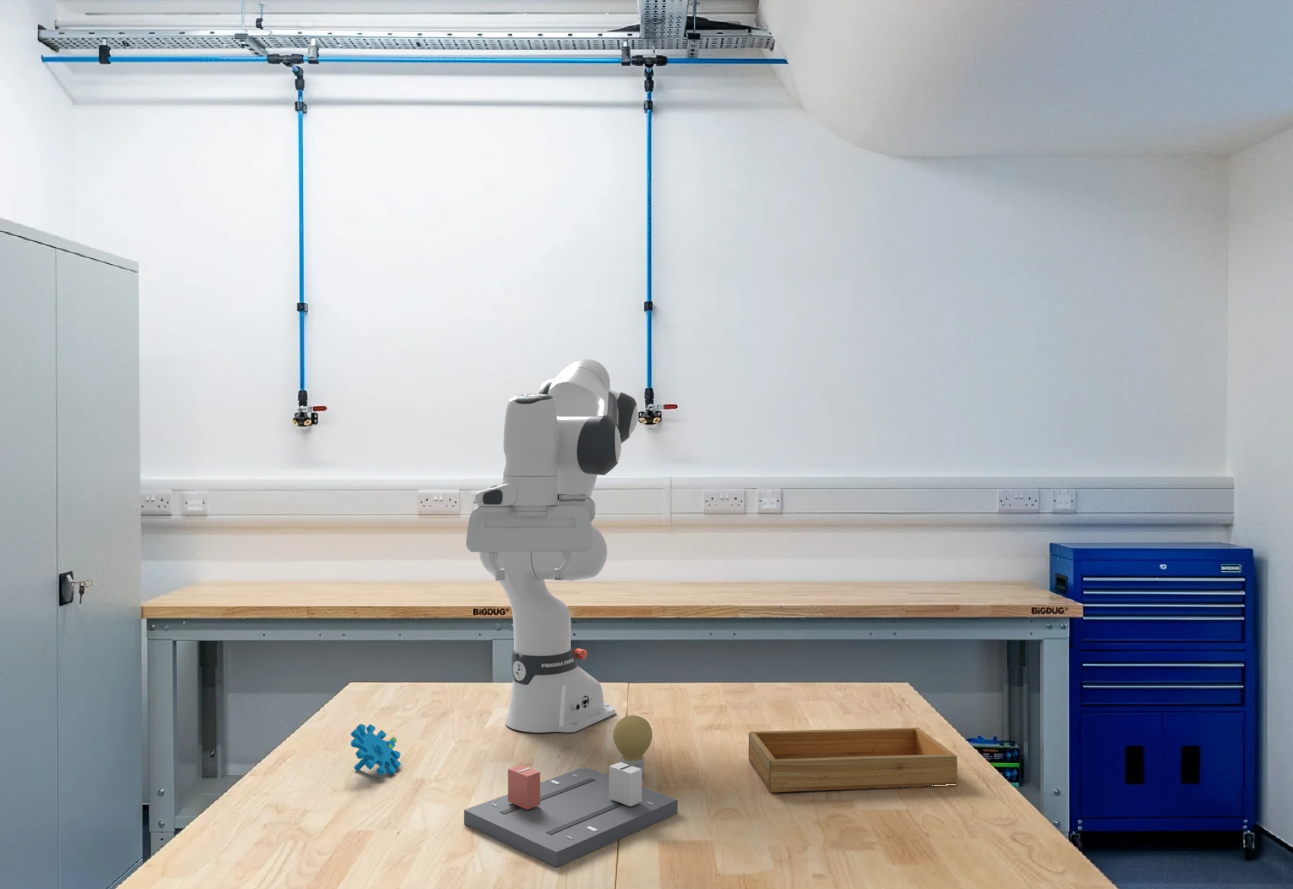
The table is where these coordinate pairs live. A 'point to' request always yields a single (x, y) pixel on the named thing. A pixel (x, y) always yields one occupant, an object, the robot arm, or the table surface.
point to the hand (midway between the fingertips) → (529, 580)
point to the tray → (850, 759)
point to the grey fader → (625, 784)
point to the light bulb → (632, 740)
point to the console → (568, 817)
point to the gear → (375, 750)
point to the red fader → (524, 787)
